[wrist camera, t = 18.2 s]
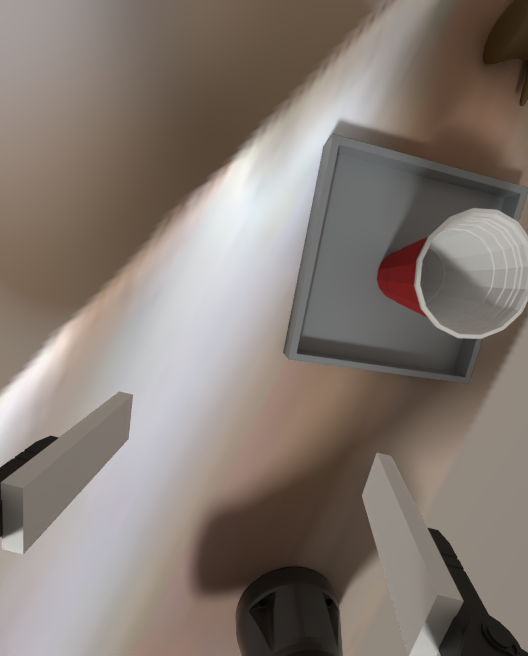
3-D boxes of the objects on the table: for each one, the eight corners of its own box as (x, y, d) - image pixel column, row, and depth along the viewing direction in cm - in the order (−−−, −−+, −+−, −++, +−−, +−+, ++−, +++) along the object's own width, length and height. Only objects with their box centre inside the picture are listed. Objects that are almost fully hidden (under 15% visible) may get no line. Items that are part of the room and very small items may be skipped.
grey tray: (451, 376, 41) (468, 384, 38) (283, 352, 37) (288, 359, 34) (504, 194, 37) (528, 187, 34) (323, 146, 33) (333, 134, 30)
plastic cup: (417, 209, 35) (516, 178, 23) (451, 288, 37) (555, 296, 26) (339, 258, 35) (399, 251, 23) (378, 334, 37) (450, 363, 25)
